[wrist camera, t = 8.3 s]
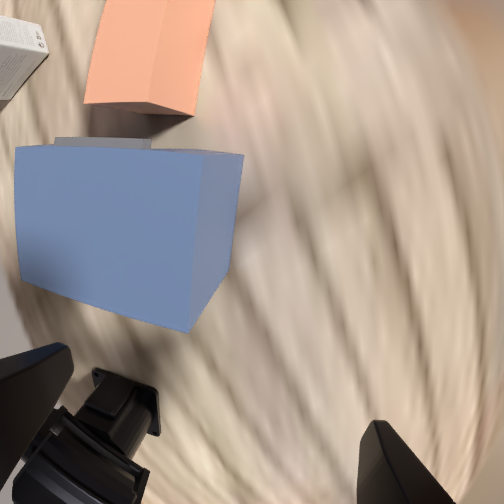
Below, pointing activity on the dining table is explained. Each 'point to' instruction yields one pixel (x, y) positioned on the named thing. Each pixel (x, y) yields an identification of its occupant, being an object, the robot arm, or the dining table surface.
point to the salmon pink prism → (149, 56)
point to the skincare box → (19, 53)
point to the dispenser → (126, 224)
